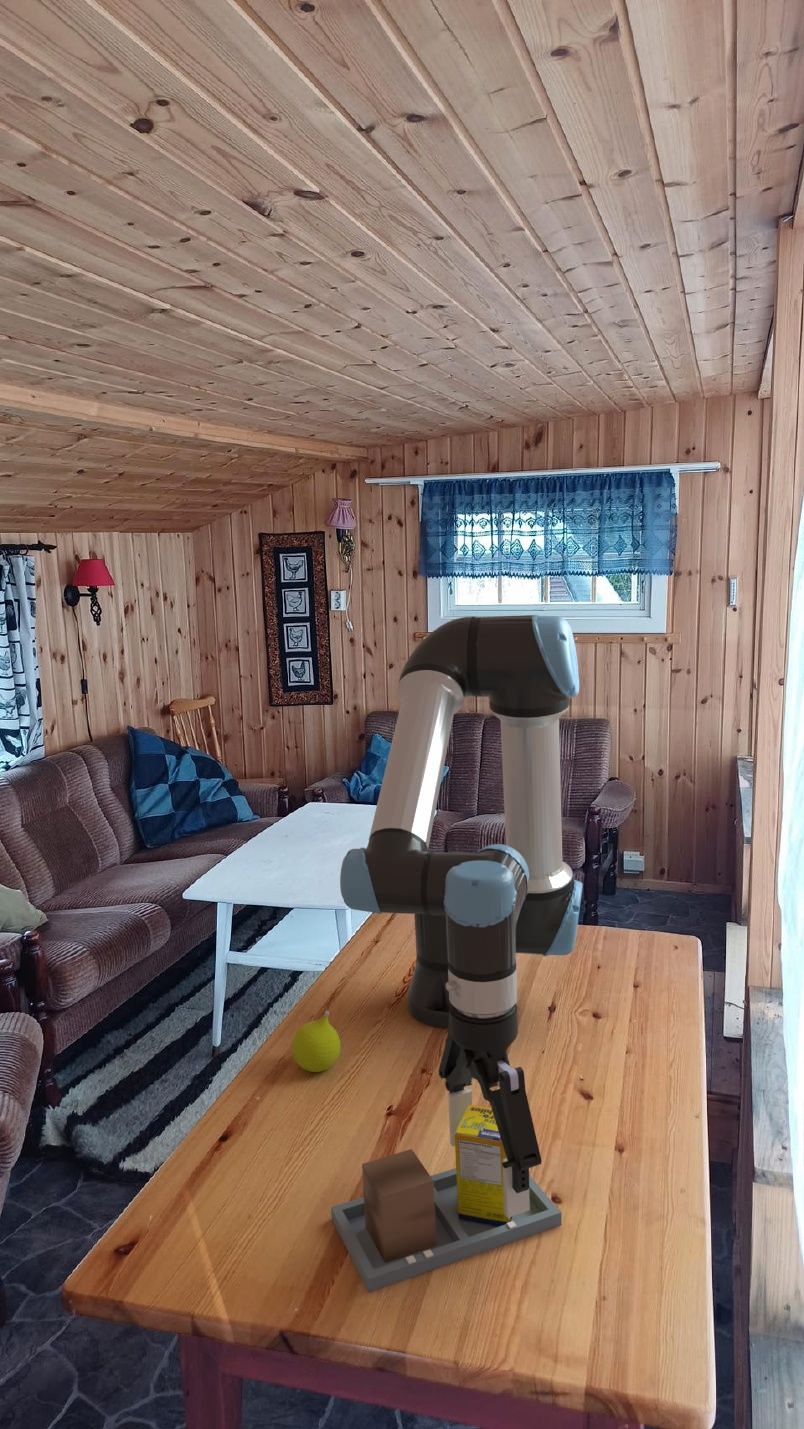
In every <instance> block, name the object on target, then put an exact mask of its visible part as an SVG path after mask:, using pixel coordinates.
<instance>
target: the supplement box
mask: <svg viewBox="0 0 804 1429" xmlns="http://www.w3.org/2000/svg"><path fill="white" fill-rule="evenodd" d="M454 1147H455V1152H454V1153H455V1168H456V1177H457V1197H458V1216H459V1219H463V1220H469V1221H474V1222H480V1223H485V1224H491V1225H496V1226H502V1225H505V1224H507V1223H508V1222H511V1219H512V1217H509V1218H507V1216H506V1215H505V1214H504V1183H503V1165H502V1163H503V1159H506V1158H507V1156H506V1153H505V1150H504V1147H503V1144H502V1140H501V1137H500V1134H499V1131H498V1128H497V1124H496V1121H495V1118H494V1115H493V1111H492V1108H491V1107H488V1106H480V1105H476V1104H472V1105H470V1104H469V1105H468V1107H467V1109H466V1111H465V1113H464V1115H463V1118H462V1120H461V1122H460V1124H459V1126H458V1128H457V1130H456V1133H455V1146H454Z"/></svg>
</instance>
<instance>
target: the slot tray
mask: <svg viewBox="0 0 804 1429" xmlns="http://www.w3.org/2000/svg"><path fill="white" fill-rule="evenodd" d="M430 1176H431V1177H432V1179H433V1180H434V1203H435V1228H436V1246H434V1247H431V1248H428V1249H425V1250H422V1251H419V1252H416V1253H413V1254H411V1255H408V1256H405V1257H402V1258H399V1259H396V1260H393V1261H390V1262H387V1263H385V1262H384V1260H383V1258H382V1257H381V1255H380V1253H379V1251H378V1249H377V1247H376V1246H375V1244H374V1242H373V1240H372V1238H371V1236H370V1235H369V1233H368V1231H367V1229H366V1226H365V1208H364V1196H362V1197H359V1198H356V1199H353V1200H350V1201H346V1202H343V1203H340V1204H337V1205H334V1206H330V1208H331V1209H330V1211H331V1221H332V1223H333V1225H334V1227H335V1229H336V1231H337V1232H338V1235H339V1237H340V1238H341V1241H342V1242H343V1244H344V1246H345V1248H346V1250H347V1253H348V1254H349V1256H350V1258H351V1260H352V1262H353V1264H354V1266H355V1268H356V1270H357V1272H358V1274H359V1276H360V1278H361V1279H362V1281H363V1283H364V1286H365V1288H366V1290H367V1292H368V1293H371V1292H374V1291H377V1290H379V1289H382V1288H385V1287H388V1286H391V1285H393V1284H397V1283H399V1282H402V1281H406V1280H408V1279H411V1278H413V1277H417V1276H419V1275H423V1274H425V1273H428V1272H431V1271H433V1270H436V1269H440V1268H442V1267H444V1266H448V1265H451V1264H453V1263H456V1262H460V1261H463V1260H465V1259H469V1258H470V1257H474V1256H476V1255H479V1254H482V1253H484V1252H489V1251H491V1250H493V1249H496V1248H499V1247H501V1246H505V1245H508V1244H510V1243H513V1242H516V1241H519V1240H522V1239H525V1238H527V1237H531V1236H533V1235H536V1234H539V1233H542V1232H544V1231H547V1230H550V1229H554V1228H556V1227H559V1226H561V1225H562V1211H561V1210H560V1209H559V1208H558V1206H556V1204H555V1203H554V1202H553V1201H552V1200H551V1198H550V1197H549V1196H548V1195H547V1194H546V1193H545V1191H544V1190H543V1189H542V1188H541V1187H540V1185H538V1183H537V1182H536V1181H535V1180H534V1178H533V1177H532V1176H531V1175H530V1174H529V1201H530V1210H529V1211H526V1212H523V1213H520V1214H517V1215H514V1216H512V1219H511V1222H508V1223H507V1224H505V1225H502V1226H496V1225H491V1224H485V1223H480V1222H474V1221H469V1220H463V1219H459V1216H458V1197H457V1177H456V1167H455V1168H452V1169H449V1170H445V1171H441V1172H439V1173H436V1174H433V1175H430Z"/></svg>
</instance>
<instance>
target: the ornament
mask: <svg viewBox="0 0 804 1429" xmlns="http://www.w3.org/2000/svg"><path fill="white" fill-rule="evenodd" d="M329 1014H330V1012H329V1010H325V1012H324V1014H323V1016H322V1017H321V1018H320V1019H318V1020H313V1021H309V1022H306V1023H305V1024H303V1025H301V1027H299V1028H298V1029H297V1031H296V1032H295V1034H294V1036H293V1039H292V1043H291V1052H292V1056H293V1058H294V1060H295V1062H296V1063H297V1064H298V1066H299V1067H300V1068H302V1069H303V1070H305V1071H308V1072H310V1073H311V1072H312V1073H320V1072H324V1071H327V1070H329V1069H330V1068H331V1067H332V1066H334V1064H335V1063H336V1062H337V1060H338V1059H339V1056H340V1053H341V1047H342V1046H341V1038H340V1036H339V1033H338V1032H337V1030H336V1029H335V1028H334V1027H333V1026H332V1024H330V1021H329Z"/></svg>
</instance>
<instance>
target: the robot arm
mask: <svg viewBox="0 0 804 1429" xmlns="http://www.w3.org/2000/svg"><path fill="white" fill-rule="evenodd" d="M575 643H576V642H575V638H574V634H573V631H572V628H571V626H570V623H569V622H568V621H567V620H566V619H565V618H563V617H560V616H556V615H555V616H551V615H550V616H549V615H547V616H546V615H538V614H526V615H502V616H501V615H500V616H464V617H458V618H455V619H451V620H449V621H447V622H446V623H443V624H442V625H440V626H439V627H437V628H436V629H434V630H433V631H432V632H430V633H429V634H428V635H427V636H426V637H425V638H424V639H422V640H421V642H420V643H419V644H417V646H416V647H415V649H414V650H413V651H412V652H411V654H410V655H409V657H408V659H407V660H406V662H405V664H404V666H403V668H402V670H401V673H400V676H399V679H398V684H397V688H396V693H397V698H398V701H399V702H400V707H399V711H398V715H397V719H396V722H395V729H394V732H393V736H392V740H391V744H390V749H389V751H388V752H389V753H388V758H387V761H386V764H385V765H386V766H385V769H384V774H383V779H382V783H381V787H380V791H379V795H378V799H377V804H376V808H375V811H374V816H373V820H372V824H371V828H370V834H369V836H368V837H369V838H368V844H367V846H366V848H365V847H364V846H363V847H360V848H351V849H349V850H348V851H347V853H346V855H345V856H344V858H343V860H342V863H341V868H340V875H339V877H340V878H339V886H340V894H341V897H342V899H343V903H344V904H345V906H347V908H348V909H351V910H354V911H361V912H368V913H374V914H380V915H382V914H386V913H387V914H405V915H407V914H408V915H409V914H411V915H414V927H415V928H414V932H415V949H416V950H415V952H416V963H415V964H416V965H415V967H414V970H413V974H412V976H411V977H412V978H411V980H410V984H409V987H408V991H407V1009H408V1012H409V1013H410V1015H411V1016H412V1017H413V1018H414V1019H415V1020H417V1021H419V1022H421V1023H423V1024H426V1025H428V1026H431V1027H432V1026H433V1027H436V1028H437V1027H438V1028H447V1037H446V1042H445V1045H444V1048H443V1051H442V1056H441V1060H440V1064H439V1067H438V1075H439V1077H440V1079H441V1080H443V1079H445V1083H444V1086H445V1088H446V1091H447V1092H449V1093H448V1116H449V1117H448V1120H449V1122H448V1123H449V1144H450V1145H451V1146H452V1147H455V1133H456V1130H457V1128H458V1126H459V1124H460V1122H461V1120H462V1118H463V1115H464V1113H465V1111H466V1109H467V1107H468V1105H469V1104H470V1105H473V1098H472V1097H473V1096H472V1094H473V1093H472V1090H471V1089H470V1088H469V1087H470V1086H473V1083H472V1082H473V1081H472V1080H473V1079H474V1080H475V1081H477V1082H478V1084H479V1086H480V1090H481V1093H482V1096H483V1099H484V1100H485V1101H486V1102H488V1103H489V1106H490V1108H492V1111H493V1115H494V1118H495V1121H496V1124H497V1128H498V1131H499V1134H500V1137H501V1140H502V1144H503V1147H504V1150H505V1153H506V1156H507V1158H506V1159H503V1163H502V1165H503V1183H504V1214H505V1215H506V1216H507V1218H509V1217H512V1216H514V1215H517V1214H520V1213H523V1212H526V1211H529V1210H530V1201H529V1175H530V1168H531V1169H532V1168H534V1167H537V1166H540V1165H542V1156H541V1153H540V1148H539V1144H538V1139H537V1135H536V1131H535V1127H534V1126H535V1125H534V1121H533V1117H532V1112H531V1108H530V1104H529V1101H528V1096H527V1091H526V1079H525V1072H524V1068H522V1067H521V1066H519V1067H514V1068H512V1067H511V1064H510V1060H509V1056H508V1049H509V1047H510V1046H511V1044H512V1043H513V1042H515V1040H516V1039H517V1036H518V1033H519V1022H518V1021H519V1020H518V1005H517V1002H518V977H517V976H518V970H517V969H518V967H517V966H518V965H517V959H516V957H517V956H516V955H517V954H525V955H526V954H527V955H541V956H543V957H548V956H567V955H569V954H571V953H572V952H573V950H574V949H575V945H576V939H577V938H576V937H577V932H578V931H577V930H578V924H579V915H580V908H581V901H582V893H583V885H584V884H583V882H582V881H579V880H576V879H574V874H573V869H572V868H571V866H570V865H568V864H567V863H566V862H565V861H563V831H562V829H563V826H562V825H563V824H562V821H563V820H562V792H561V791H562V789H561V787H562V786H561V784H562V783H561V752H560V749H561V747H560V718H561V717H562V715H564V714H565V713H566V712H567V711H568V710H569V709H570V699H573V698H574V697H577V696H578V695H579V692H580V676H579V664H578V662H579V661H578V656H577V649H576V644H575ZM467 697H474V698H475V697H479V698H483V697H484V698H488V700H489V711H490V712H491V713H492V714H493V715H494V716H495V717H496V718H497V719H499V720H500V737H501V738H500V739H501V741H500V742H501V743H500V744H501V757H502V758H501V761H502V762H501V764H502V786H503V787H502V788H503V805H504V806H503V807H504V825H505V826H504V829H505V830H504V831H505V844H501V843H498V844H497V843H494V844H489V845H487V846H483V847H482V848H481V849H479V850H478V851H476V853H470V852H469V853H466V852H464V853H463V852H445V851H444V852H441V851H439V852H438V851H428V850H429V848H430V846H429V845H430V842H431V836H432V832H433V826H434V821H435V815H436V810H437V805H438V799H439V793H440V788H441V782H442V777H443V772H444V768H445V762H446V756H447V752H448V747H449V741H450V735H451V730H452V723H453V720H454V715H455V714H456V713H457V712H458V711H460V709H461V708H462V706H463V704H464V700H465V698H467ZM466 1087H468V1088H466ZM494 1087H498V1088H497V1089H494V1090H492V1089H491V1088H494Z"/></svg>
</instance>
